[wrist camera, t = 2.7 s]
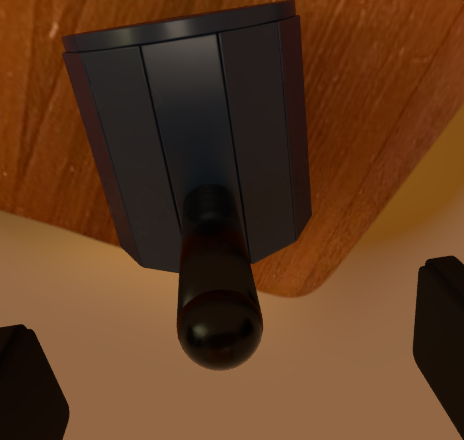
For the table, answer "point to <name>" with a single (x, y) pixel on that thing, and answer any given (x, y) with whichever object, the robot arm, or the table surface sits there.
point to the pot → (201, 156)
